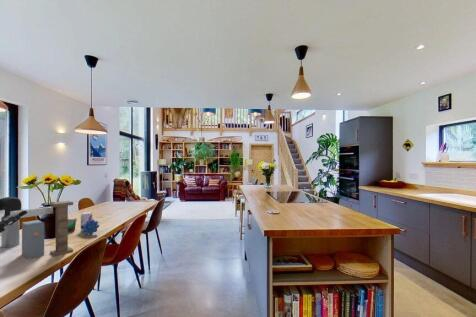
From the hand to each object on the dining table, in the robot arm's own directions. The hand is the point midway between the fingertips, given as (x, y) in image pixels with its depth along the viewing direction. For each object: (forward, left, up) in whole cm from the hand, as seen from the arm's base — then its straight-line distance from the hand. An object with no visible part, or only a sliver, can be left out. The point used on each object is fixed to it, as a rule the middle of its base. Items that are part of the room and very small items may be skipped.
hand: (25, 211), depth 150 cm
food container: (-40, +36, -28) cm, 61 cm away
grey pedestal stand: (+10, +16, -28) cm, 34 cm away
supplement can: (-28, +46, -28) cm, 61 cm away
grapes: (-15, +44, -28) cm, 54 cm away
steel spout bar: (0, +4, -3) cm, 5 cm away
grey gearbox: (0, +4, -28) cm, 28 cm away
